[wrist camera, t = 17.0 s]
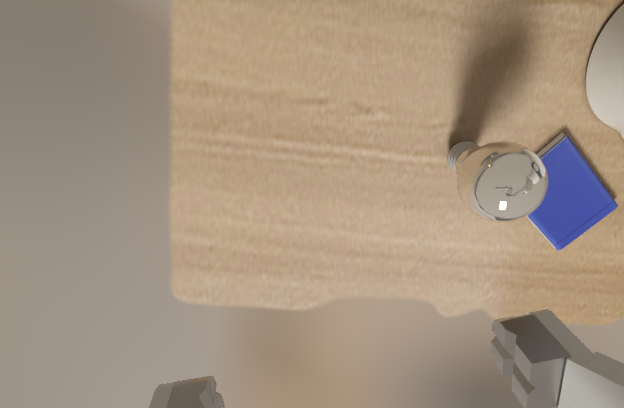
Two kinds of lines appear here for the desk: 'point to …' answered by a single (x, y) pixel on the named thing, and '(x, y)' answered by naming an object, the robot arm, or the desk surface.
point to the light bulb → (499, 179)
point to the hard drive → (569, 195)
